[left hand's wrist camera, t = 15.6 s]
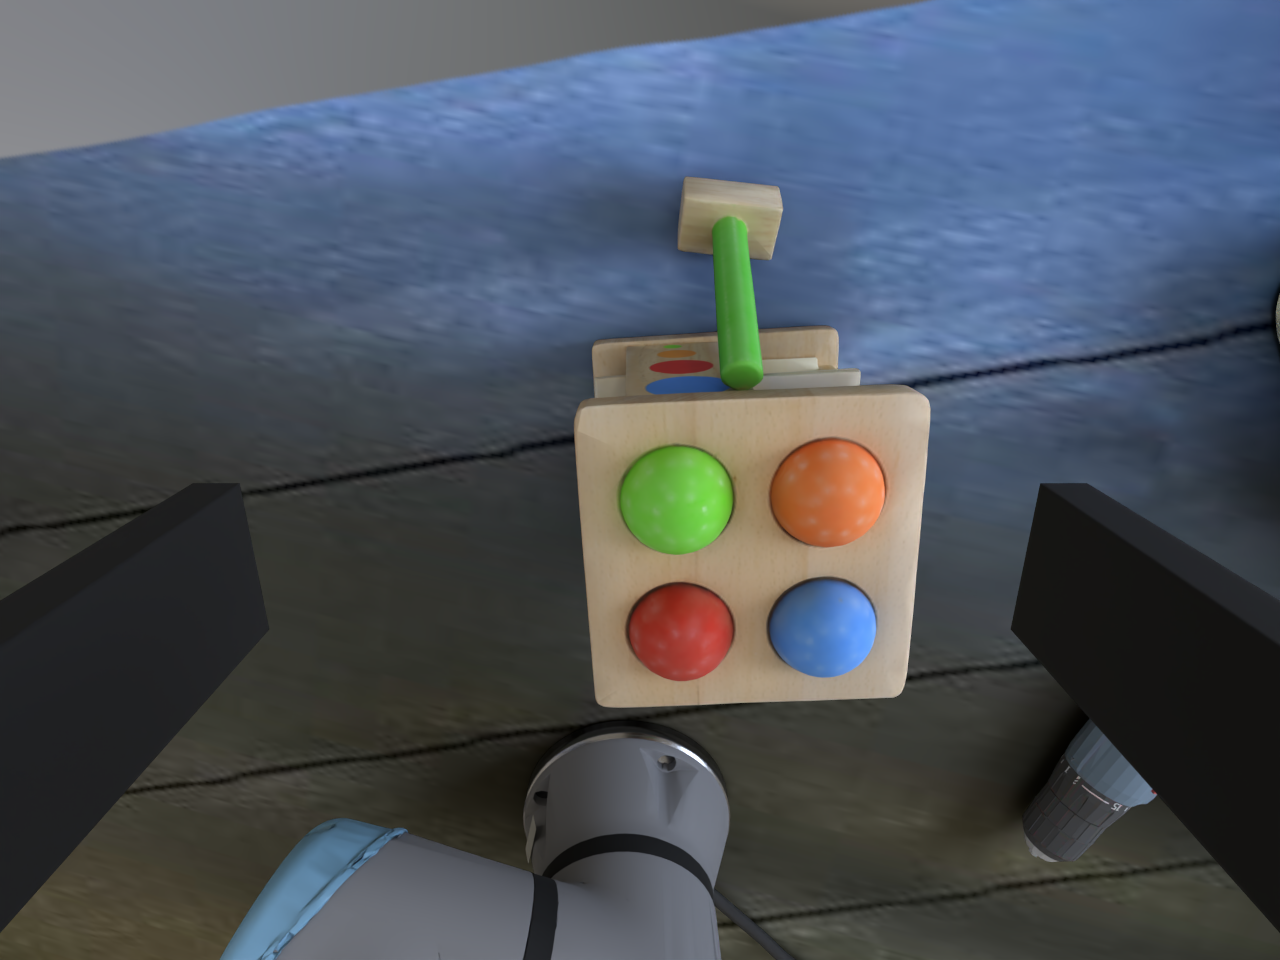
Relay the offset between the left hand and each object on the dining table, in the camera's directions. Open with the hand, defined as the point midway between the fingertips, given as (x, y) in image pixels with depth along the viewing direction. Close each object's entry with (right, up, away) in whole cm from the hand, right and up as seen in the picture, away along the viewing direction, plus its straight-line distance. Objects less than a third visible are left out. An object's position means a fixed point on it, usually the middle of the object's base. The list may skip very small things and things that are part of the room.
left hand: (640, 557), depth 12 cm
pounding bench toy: (+4, +7, +32) cm, 33 cm away
